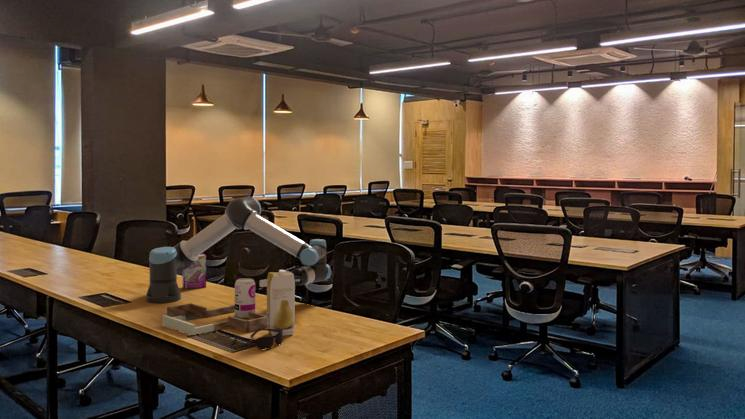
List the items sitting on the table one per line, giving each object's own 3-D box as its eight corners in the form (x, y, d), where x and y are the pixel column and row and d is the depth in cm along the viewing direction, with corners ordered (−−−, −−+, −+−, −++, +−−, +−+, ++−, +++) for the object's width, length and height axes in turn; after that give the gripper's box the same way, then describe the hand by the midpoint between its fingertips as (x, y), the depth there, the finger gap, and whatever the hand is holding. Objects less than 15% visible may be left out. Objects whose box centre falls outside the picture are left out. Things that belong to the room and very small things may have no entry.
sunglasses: (261, 353, 201) (261, 338, 201) (227, 345, 210) (227, 330, 209) (288, 343, 213) (288, 329, 212) (255, 336, 221) (255, 322, 221)
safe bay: (183, 321, 239) (183, 311, 239) (213, 331, 226) (213, 320, 225) (162, 325, 232) (162, 315, 232) (192, 336, 219) (192, 325, 218)
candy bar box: (183, 289, 300) (183, 256, 298) (182, 287, 304) (181, 255, 303) (206, 287, 304) (206, 255, 303) (204, 285, 309) (204, 254, 308)
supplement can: (258, 314, 252) (258, 278, 250) (248, 319, 244) (248, 282, 243) (241, 312, 254) (241, 277, 253) (231, 317, 246) (230, 280, 245)
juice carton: (271, 338, 217) (272, 272, 216) (265, 332, 224) (265, 268, 223) (296, 335, 222) (296, 270, 220) (289, 329, 229) (289, 267, 227)
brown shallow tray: (223, 306, 265) (223, 297, 265) (285, 322, 239) (285, 312, 238) (167, 317, 245) (167, 307, 245) (227, 337, 218) (227, 326, 218)
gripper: (312, 286, 267) (270, 294, 249) (292, 282, 276) (251, 290, 258) (312, 269, 267) (270, 276, 249) (292, 266, 275) (250, 273, 257)
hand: (260, 283), depth 253 cm, fingers closed
